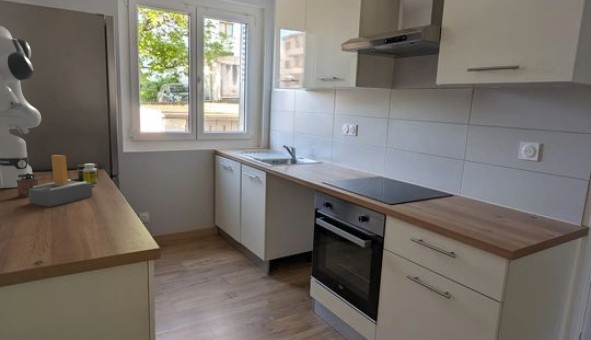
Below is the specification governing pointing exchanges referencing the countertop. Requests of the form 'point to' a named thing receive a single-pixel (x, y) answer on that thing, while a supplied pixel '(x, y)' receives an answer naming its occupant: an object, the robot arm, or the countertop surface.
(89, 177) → the pill bottle
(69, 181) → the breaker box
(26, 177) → the lighter
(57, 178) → the lever
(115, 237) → the countertop surface
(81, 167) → the jar
